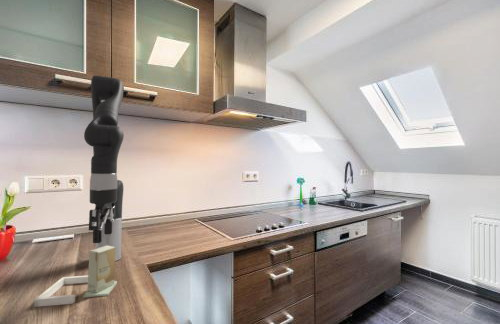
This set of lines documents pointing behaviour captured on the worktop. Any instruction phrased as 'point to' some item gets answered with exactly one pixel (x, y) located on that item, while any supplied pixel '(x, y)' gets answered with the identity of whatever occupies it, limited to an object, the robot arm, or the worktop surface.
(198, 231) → the worktop surface
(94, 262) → the skincare box
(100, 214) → the robot arm
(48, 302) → the white frame
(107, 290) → the pad
